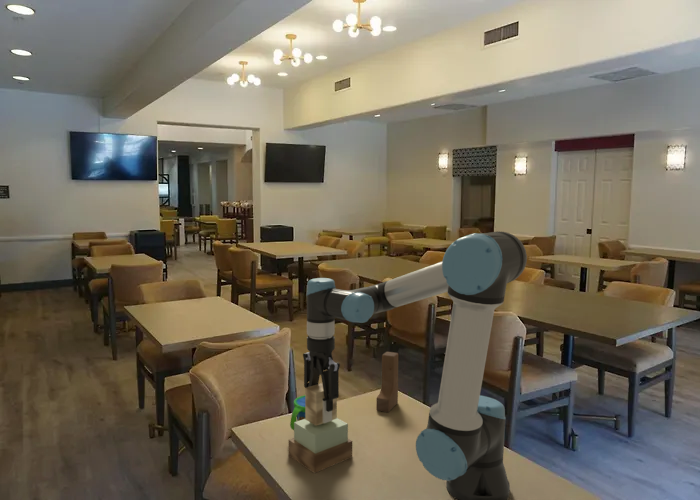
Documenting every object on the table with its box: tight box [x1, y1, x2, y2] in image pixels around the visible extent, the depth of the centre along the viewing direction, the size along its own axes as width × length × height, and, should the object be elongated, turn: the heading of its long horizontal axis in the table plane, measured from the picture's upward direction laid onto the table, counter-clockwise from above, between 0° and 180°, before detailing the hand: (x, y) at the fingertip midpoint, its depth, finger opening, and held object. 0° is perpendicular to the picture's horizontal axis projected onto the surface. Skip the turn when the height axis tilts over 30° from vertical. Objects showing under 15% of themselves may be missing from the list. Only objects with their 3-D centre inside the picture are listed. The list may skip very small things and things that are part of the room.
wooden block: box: [375, 351, 399, 413], centre depth 178 cm, size 9×4×18 cm, turn 154°
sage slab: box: [293, 417, 349, 454], centre depth 144 cm, size 10×11×5 cm
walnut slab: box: [288, 437, 353, 474], centre depth 145 cm, size 12×13×5 cm
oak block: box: [304, 382, 338, 426], centre depth 144 cm, size 5×7×9 cm
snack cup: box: [289, 394, 305, 431], centre depth 158 cm, size 16×10×10 cm
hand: (320, 417), depth 144 cm, fingers closed on oak block, 5 cm apart
